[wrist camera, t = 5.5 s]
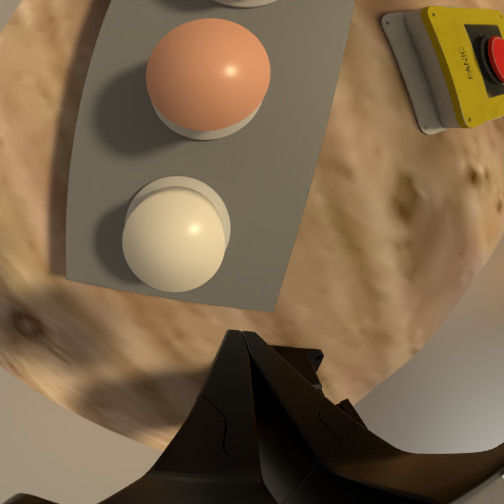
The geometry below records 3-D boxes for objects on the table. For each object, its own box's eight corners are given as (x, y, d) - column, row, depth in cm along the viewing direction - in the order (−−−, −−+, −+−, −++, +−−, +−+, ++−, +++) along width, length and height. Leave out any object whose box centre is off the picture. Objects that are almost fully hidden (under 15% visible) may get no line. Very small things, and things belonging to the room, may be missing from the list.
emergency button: (547, 107, 14) (459, 144, 14) (514, 103, 18) (417, 138, 18) (518, 8, 10) (408, -2, 10) (485, 13, 14) (372, 16, 14)
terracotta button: (247, 140, 12) (254, 142, 10) (143, 122, 11) (133, 120, 9) (271, 45, 11) (282, 33, 9) (169, 26, 10) (164, 11, 8)
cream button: (213, 280, 15) (214, 298, 14) (127, 266, 14) (119, 283, 13) (231, 195, 14) (235, 204, 12) (137, 179, 13) (128, 186, 11)
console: (263, 287, 20) (274, 315, 17) (83, 258, 17) (64, 282, 14) (342, -23, 13) (364, -42, 10) (160, -62, 10) (155, -89, 7)
